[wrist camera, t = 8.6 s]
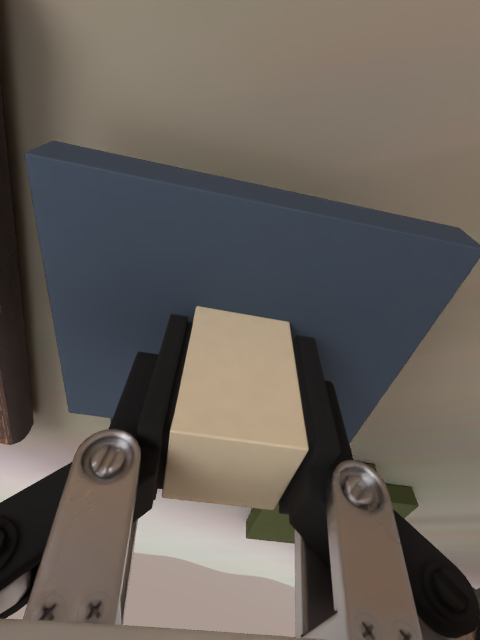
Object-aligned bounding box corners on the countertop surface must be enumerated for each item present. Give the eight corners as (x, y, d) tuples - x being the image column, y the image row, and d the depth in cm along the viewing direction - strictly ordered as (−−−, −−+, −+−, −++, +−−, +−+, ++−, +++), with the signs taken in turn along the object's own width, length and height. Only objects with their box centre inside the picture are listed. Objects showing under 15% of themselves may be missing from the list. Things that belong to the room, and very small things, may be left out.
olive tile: (428, 471, 27) (466, 560, 22) (362, 534, 34) (380, 610, 30) (281, 451, 26) (287, 541, 21) (246, 521, 33) (245, 598, 28)
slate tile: (459, 227, 10) (636, 370, 6) (320, 450, 18) (345, 592, 13) (52, 139, 9) (-159, 229, 4) (86, 419, 17) (22, 563, 12)
